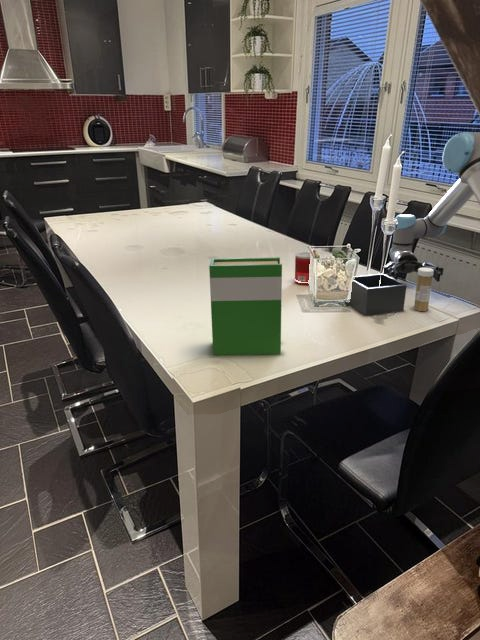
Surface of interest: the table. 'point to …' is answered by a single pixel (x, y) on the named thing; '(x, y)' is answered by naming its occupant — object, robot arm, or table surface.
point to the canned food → (302, 267)
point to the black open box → (377, 294)
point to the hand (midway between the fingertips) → (417, 277)
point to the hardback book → (246, 305)
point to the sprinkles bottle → (423, 289)
